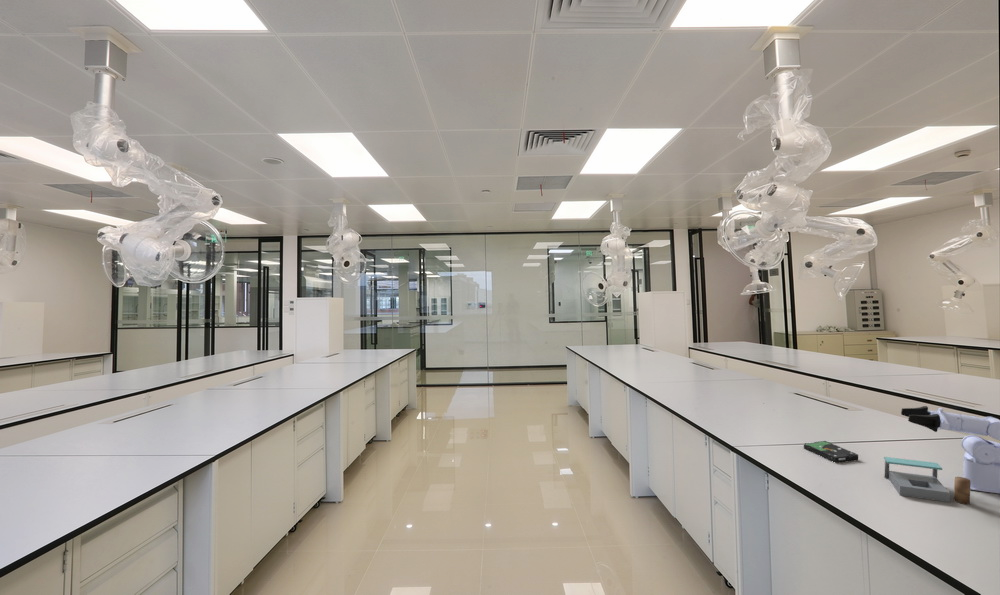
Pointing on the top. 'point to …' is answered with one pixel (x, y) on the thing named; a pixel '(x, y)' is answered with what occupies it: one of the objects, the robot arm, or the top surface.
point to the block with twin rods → (911, 463)
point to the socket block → (919, 486)
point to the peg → (962, 490)
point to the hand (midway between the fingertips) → (905, 414)
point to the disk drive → (831, 451)
